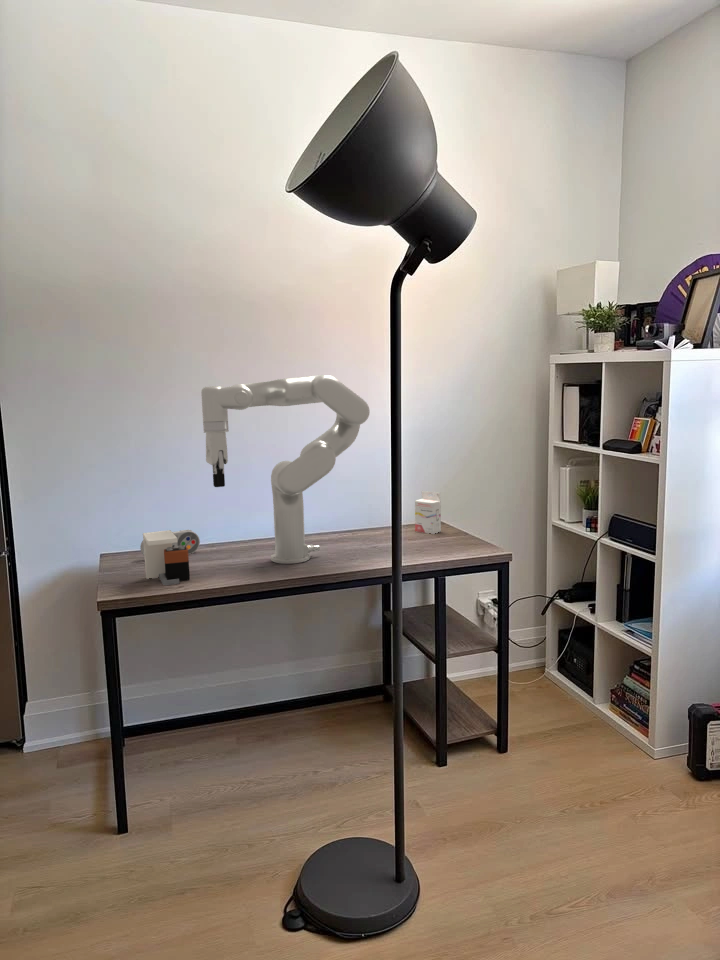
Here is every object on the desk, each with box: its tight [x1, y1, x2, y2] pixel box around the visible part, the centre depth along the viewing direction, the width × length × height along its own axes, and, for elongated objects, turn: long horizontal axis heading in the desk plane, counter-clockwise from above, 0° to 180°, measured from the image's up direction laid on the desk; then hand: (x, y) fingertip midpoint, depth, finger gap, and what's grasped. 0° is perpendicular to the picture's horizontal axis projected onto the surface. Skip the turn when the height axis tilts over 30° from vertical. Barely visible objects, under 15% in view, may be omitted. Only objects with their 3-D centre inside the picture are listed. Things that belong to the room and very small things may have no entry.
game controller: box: [139, 529, 201, 558], centre depth 243 cm, size 20×2×8 cm, turn 121°
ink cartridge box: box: [414, 490, 442, 535], centre depth 268 cm, size 9×5×15 cm, turn 52°
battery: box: [164, 545, 191, 582], centre depth 215 cm, size 4×7×10 cm, turn 105°
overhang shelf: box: [142, 529, 180, 586], centre depth 213 cm, size 8×12×14 cm, turn 23°
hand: (219, 486), depth 227 cm, fingers closed
